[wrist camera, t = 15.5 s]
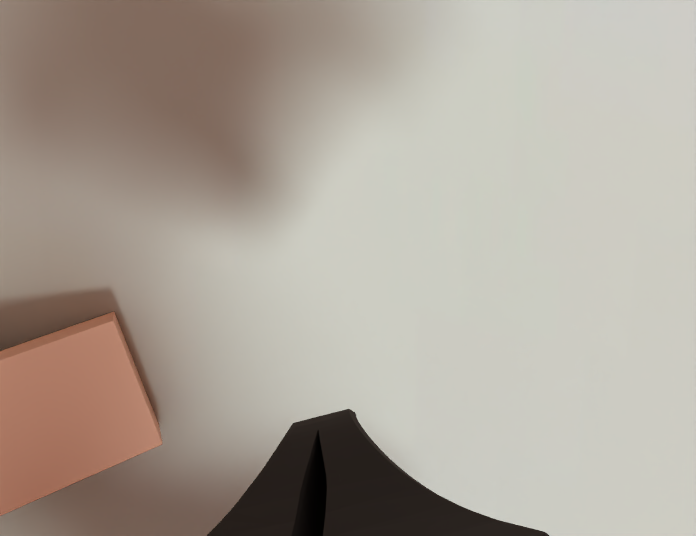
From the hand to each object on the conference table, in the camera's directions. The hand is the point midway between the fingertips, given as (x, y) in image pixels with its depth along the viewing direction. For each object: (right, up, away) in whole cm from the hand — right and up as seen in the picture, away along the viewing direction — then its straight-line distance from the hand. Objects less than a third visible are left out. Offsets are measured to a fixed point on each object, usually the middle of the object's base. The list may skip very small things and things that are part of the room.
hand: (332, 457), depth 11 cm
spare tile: (-8, 0, +9) cm, 12 cm away
